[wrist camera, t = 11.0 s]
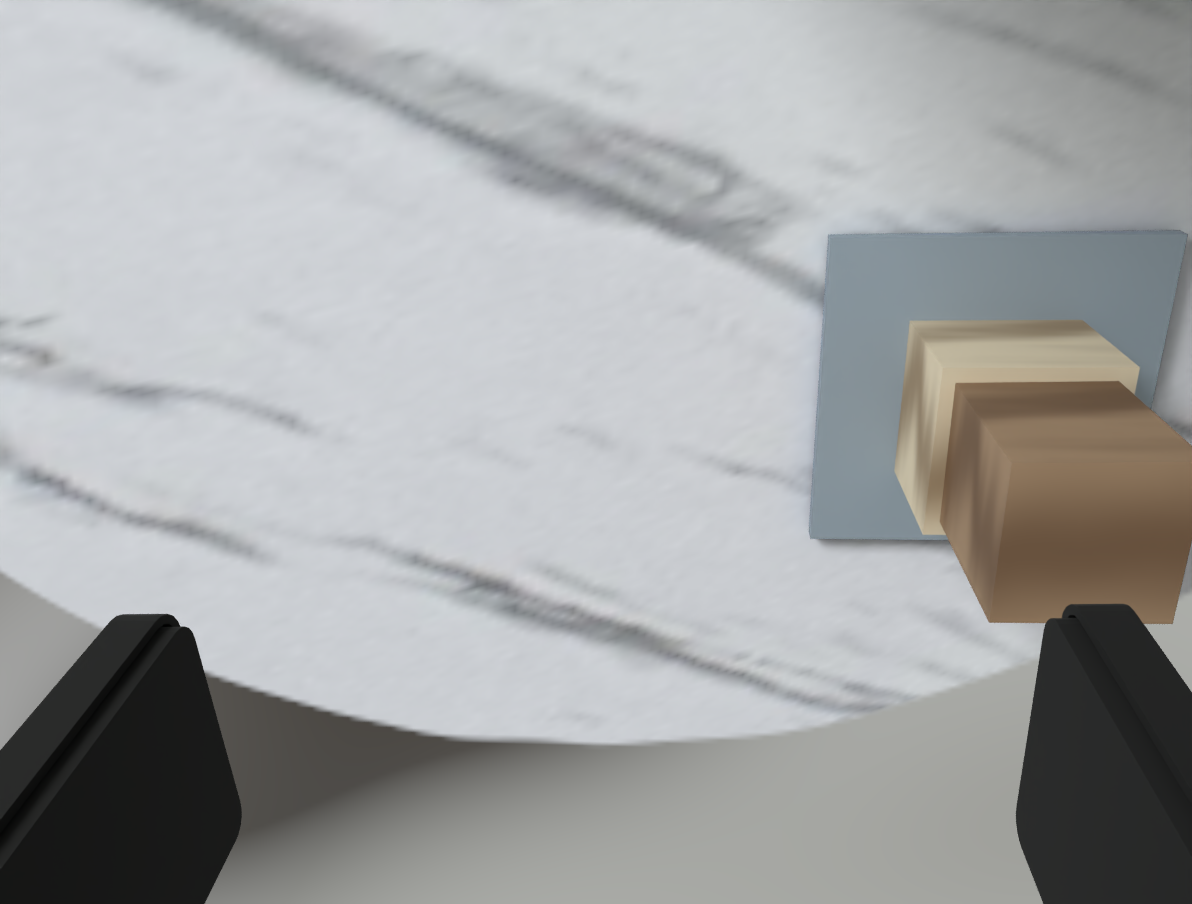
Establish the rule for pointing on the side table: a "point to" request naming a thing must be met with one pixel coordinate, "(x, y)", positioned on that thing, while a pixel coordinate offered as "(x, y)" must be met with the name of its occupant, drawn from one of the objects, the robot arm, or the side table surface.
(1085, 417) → the walnut block
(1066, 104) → the side table surface
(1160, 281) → the build plate
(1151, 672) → the robot arm
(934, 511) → the beech block
